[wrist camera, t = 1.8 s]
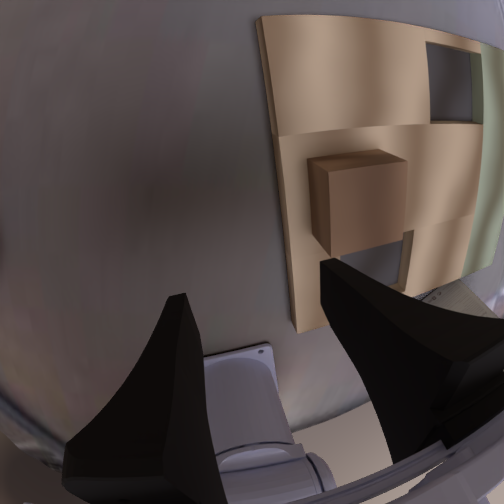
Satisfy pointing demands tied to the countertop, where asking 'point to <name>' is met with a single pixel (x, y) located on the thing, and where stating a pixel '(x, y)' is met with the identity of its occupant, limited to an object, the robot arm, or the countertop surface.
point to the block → (357, 200)
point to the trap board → (387, 143)
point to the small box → (458, 300)
